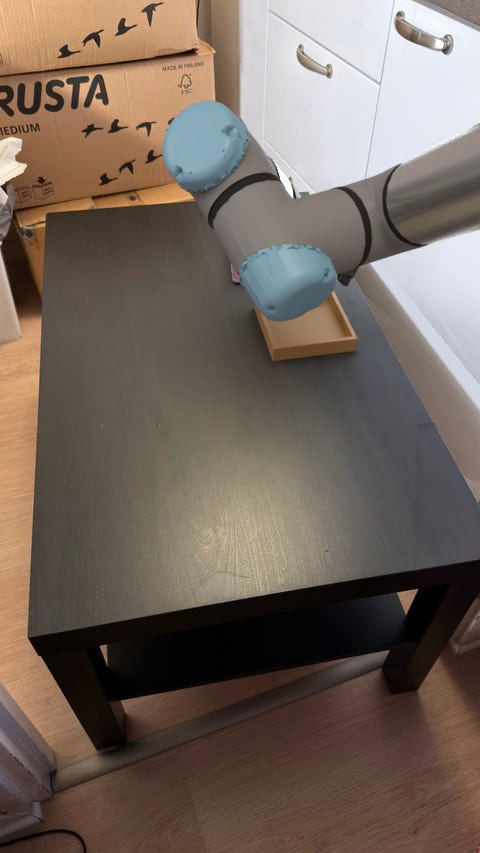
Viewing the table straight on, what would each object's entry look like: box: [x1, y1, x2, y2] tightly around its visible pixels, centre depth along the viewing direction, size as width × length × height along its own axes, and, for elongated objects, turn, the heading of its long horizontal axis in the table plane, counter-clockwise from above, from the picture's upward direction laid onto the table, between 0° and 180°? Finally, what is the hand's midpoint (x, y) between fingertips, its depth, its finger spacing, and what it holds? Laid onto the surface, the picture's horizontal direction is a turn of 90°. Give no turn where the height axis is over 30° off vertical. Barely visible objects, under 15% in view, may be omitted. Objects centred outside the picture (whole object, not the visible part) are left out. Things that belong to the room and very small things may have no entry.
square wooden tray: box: [253, 290, 359, 362], centre depth 91 cm, size 12×12×2 cm
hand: (321, 265), depth 87 cm, fingers closed on cup, 8 cm apart
